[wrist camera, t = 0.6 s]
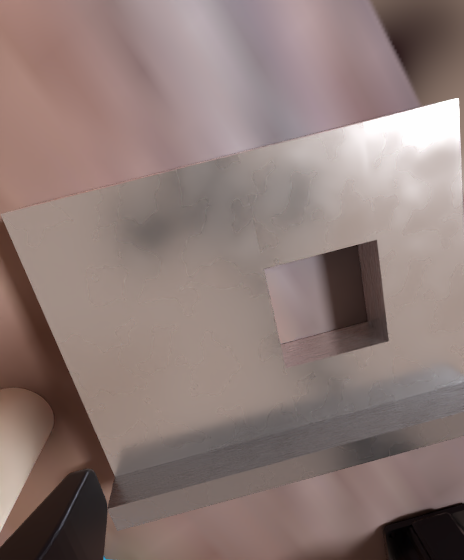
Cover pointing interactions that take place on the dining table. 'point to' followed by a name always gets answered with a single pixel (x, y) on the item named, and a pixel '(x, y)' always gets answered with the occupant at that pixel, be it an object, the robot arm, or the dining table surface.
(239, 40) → the dining table surface
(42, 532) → the robot arm
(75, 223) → the jig
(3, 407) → the cream domed knob
